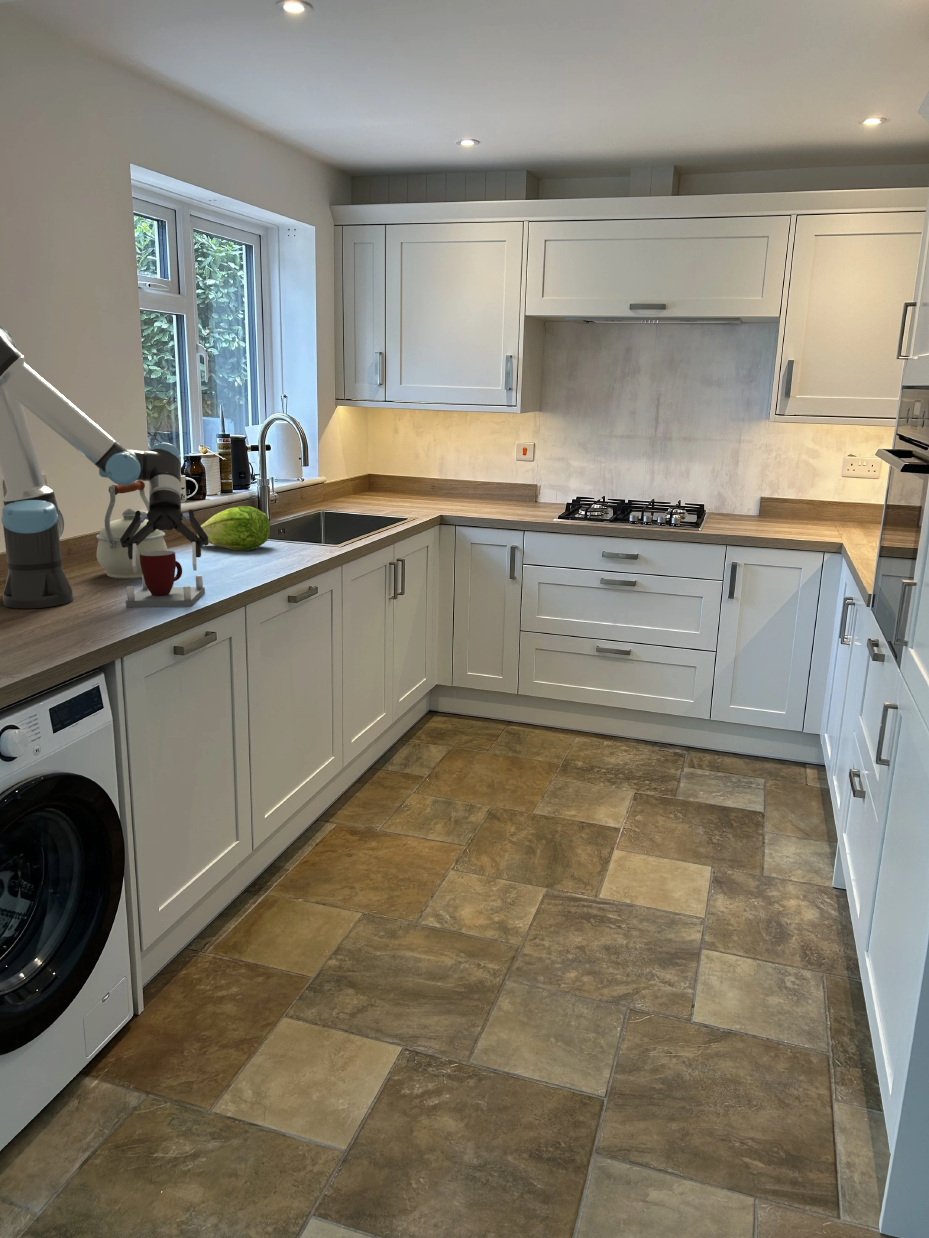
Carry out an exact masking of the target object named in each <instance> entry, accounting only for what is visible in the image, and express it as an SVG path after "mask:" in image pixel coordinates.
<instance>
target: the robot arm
mask: <svg viewBox="0 0 929 1238" xmlns="http://www.w3.org/2000/svg"><path fill="white" fill-rule="evenodd" d="M25 359H26V358H25V356H24V355H23V354H22V353H21V351H19V350H18V349H17V345H16V342H15V340H14V339H13V337H12V336H11V334H10V333H9V332H8V331H7V329H5V328H3V327H2V326H0V470H1V475H2V477H3V481H4V483H5V488H6V494H5V496H4V497H3V499H2V503H3V505H4V506H3V507H2V509H1V523H2V525H3V536H4V543H5V544H4V545H5V553H6V562H7V576H6V580H5V585H4V589H3V592H2V601H3V605H4V606H5V607H7V608H12V609H41V608H43V609H44V608H51V607H55V606H61V605H65V604H68V603H70V602H72V601H74V591H73V588H72V586H71V584H70V582H69V580H68V577H67V575H66V573H65V571H64V569H63V563H62V553H61V551H62V550H61V541H60V540H61V537H62V535H63V533H64V530H65V520H64V516H63V514H62V512H61V510H60V509H59V507H58V506H59V505H58V502H57V500H56V496H55V492H54V489H52V488H50V487H49V486H47V484H45V480H44V477H43V473H42V469H41V467H40V462H39V459H38V455H37V451H36V449H35V448H36V447H35V444H34V440H33V438H32V434H31V430H30V427H29V423H28V419H27V415H26V412H25V409H27V410H28V411H29V412H31V413H32V414H33V415H34V416H35V417H36V418H38V419H39V420H40V421H42V422H43V423H44V424H45V425H46V426H48V427H49V429H51V430H52V431H54V432H55V433H56V434H57V435H59V436H60V437H61V438H62V439H63V440H64V441H66V442H67V443H68V444H69V445H70V446H72V447H73V448H74V449H75V450H76V451H77V452H79V454H82V456H84V457H85V458H87V460H88V461H90V462H91V463H92V464H93V465H94V466H96V467H97V468H98V474H99V476H100V477H101V478H105V479H107V478H108V479H109V480H110V481H112V482H113V484H115V485H129V484H131V483H133V482H137V481H139V480H141V481H144V482H149V492H148V493H149V498H148V501H149V512H148V511H147V513H143V512H142V513H141V511H140V510H136V511H135V517H134V519H133V521H132V522H131V524H130V525H129V527H128V528H127V530H126V531H125V533H124V534H123V536H122V537H121V539H120V542H121V546H122V547H123V548H125V547H127V548H128V557H129V559H132V567H133V571H134V573H137V556H138V549H137V546H138V545H139V544H140V543H141V542H142V541H143V540H144V539H145V538H146V537H147V536H148V535H149V534H151V533H153V532H154V531H155V530H156V529H159V530H161V531H164V530H166V531H172V530H174V529H175V530H176V531H177V532H178V533H180V534H181V535H183V537H184V538H186V539H187V540H188V541H189V542H190V543H191V545H192V546H191V547H192V548H191V549H192V552H191V553H192V555H191V556H192V570H193V571H194V572H195V571H198V570H197V569H198V568H197V567H198V566H197V563H198V562H197V558H201V557H202V547H203V546H209V544H210V543H209V542H208V536H207V535H206V533H205V532H204V530H203V529H202V527H201V524H200V523H199V521H198V520H197V518H196V517H195V512H194V510H193V509H189V510H188V512H182V499H181V498H182V480H181V479H182V461H181V453H180V451H179V449H178V448H177V447H176V446H175V445H174V444H171V443H169V442H161V443H155V444H154V445H153V446H152V447H150V450H138V449H137V450H136V449H128V448H126V447H124V446H123V445H121V444H120V443H119V442H117V440H115V439H114V438H113V437H112V436H111V435H110V434H108V432H106V431H105V430H104V429H102V427H100V426H99V424H97V423H95V421H93V420H92V418H90V417H89V416H88V415H86V413H84V412H83V411H82V410H81V409H79V408H78V407H77V406H76V405H75V404H74V403H72V402H71V401H70V400H69V399H67V398H66V397H65V396H64V395H63V394H62V393H61V392H59V390H57V389H56V388H55V387H54V386H53V385H52V384H50V382H48V381H47V380H46V379H44V378H43V377H42V376H41V375H40V374H38V373H37V372H36V371H35V369H32V367H30V366H29V365H28V364H27V363H26V360H25ZM145 519H147V520H148V522H147V524H146V525H145V526H144V527H143V528H142V529H141V530H140V531H138V532H137V533H136V531H137V530H138V528H139V527H140V525H141V523H143V522H144V520H145ZM183 519H185V521H186V522H188V523H190V525H191V527H192V529H193V531H194V532H195V533H196V534H195V533H194V532H193V531H192V530H191V529H190V528H189V527H187V526H186V524H184V523H183V522H182V521H183ZM135 533H136V534H135ZM134 534H135V535H134ZM197 535H198V536H199V537H197Z"/></svg>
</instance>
